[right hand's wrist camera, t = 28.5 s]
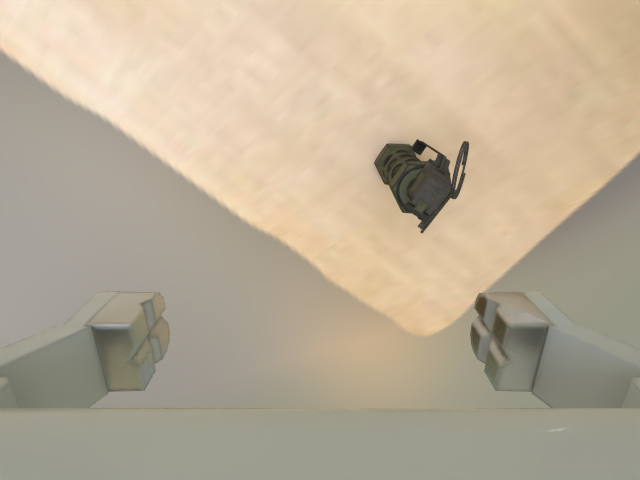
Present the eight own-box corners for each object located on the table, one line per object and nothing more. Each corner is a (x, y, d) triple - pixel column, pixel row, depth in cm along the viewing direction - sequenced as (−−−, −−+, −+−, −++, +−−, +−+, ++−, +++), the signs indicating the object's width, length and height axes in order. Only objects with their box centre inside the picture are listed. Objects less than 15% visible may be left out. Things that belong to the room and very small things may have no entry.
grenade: (403, 202, 47) (437, 252, 34) (363, 177, 46) (381, 218, 32) (449, 139, 45) (508, 165, 31) (408, 110, 43) (449, 124, 30)
